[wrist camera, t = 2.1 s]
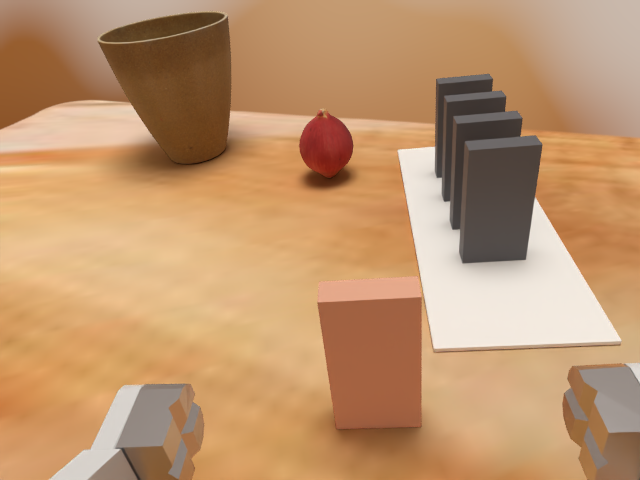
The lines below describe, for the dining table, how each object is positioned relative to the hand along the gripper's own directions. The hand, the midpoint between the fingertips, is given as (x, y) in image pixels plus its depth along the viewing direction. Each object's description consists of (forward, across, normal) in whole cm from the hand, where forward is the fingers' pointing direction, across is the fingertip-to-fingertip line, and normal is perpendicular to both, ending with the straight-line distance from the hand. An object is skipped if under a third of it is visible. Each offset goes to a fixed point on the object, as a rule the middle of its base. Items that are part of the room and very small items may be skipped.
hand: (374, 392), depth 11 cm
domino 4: (+27, -10, +17) cm, 33 cm away
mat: (+33, -10, +17) cm, 39 cm away
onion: (+44, +4, +17) cm, 48 cm away
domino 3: (+32, -10, +17) cm, 38 cm away
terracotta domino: (+12, 0, +17) cm, 21 cm away
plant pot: (+54, +22, +17) cm, 61 cm away
